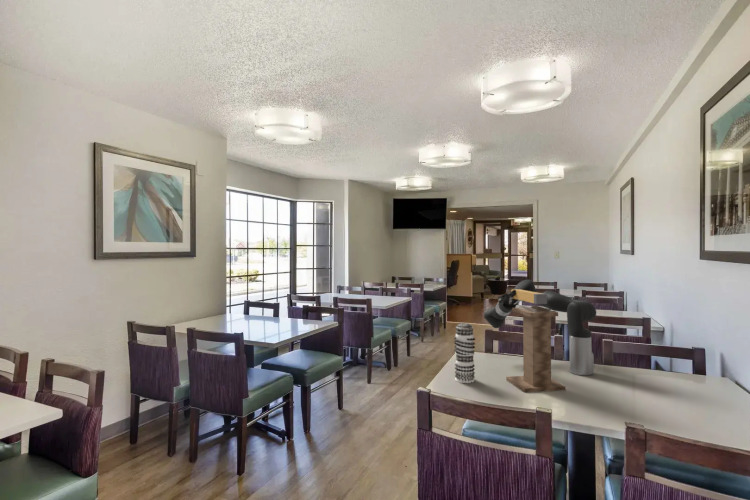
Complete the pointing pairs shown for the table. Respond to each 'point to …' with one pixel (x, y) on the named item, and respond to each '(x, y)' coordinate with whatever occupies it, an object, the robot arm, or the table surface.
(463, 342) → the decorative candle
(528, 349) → the stand
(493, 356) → the table surface
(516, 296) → the tan rectangular block
